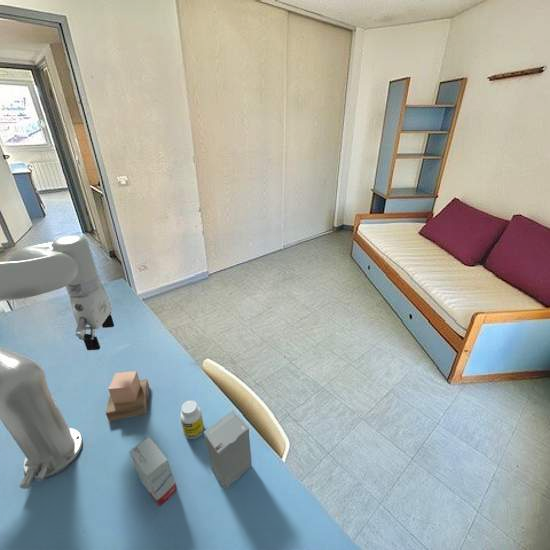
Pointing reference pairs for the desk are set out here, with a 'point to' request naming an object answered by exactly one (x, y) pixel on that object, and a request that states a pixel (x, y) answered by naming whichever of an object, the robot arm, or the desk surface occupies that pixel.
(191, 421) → the supplement bottle
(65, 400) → the desk surface
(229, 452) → the skincare box
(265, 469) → the desk surface
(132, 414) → the walnut block
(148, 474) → the ink box
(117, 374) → the terracotta cube
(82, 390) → the desk surface
